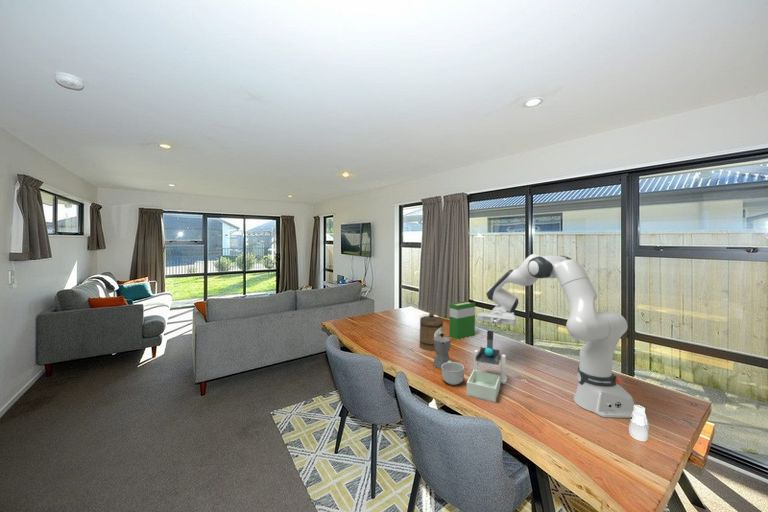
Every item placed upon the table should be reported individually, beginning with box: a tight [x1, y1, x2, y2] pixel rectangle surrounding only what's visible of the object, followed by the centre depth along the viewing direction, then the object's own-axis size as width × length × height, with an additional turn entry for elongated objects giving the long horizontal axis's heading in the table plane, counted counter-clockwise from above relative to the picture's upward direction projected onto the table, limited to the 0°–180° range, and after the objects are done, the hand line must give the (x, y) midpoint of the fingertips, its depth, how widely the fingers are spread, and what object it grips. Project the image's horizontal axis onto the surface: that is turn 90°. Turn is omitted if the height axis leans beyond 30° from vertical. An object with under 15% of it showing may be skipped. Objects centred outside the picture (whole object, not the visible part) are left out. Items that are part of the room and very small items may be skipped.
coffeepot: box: [433, 333, 452, 370], centre depth 162 cm, size 15×9×18 cm, turn 175°
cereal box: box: [449, 300, 476, 340], centre depth 209 cm, size 18×7×24 cm, turn 122°
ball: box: [485, 347, 493, 356], centre depth 144 cm, size 4×4×4 cm
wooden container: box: [419, 312, 444, 351], centre depth 190 cm, size 15×15×22 cm
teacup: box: [441, 360, 465, 386], centre depth 144 cm, size 14×11×8 cm
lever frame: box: [473, 349, 508, 385], centre depth 147 cm, size 16×6×13 cm, turn 61°
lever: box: [475, 330, 502, 366], centre depth 144 cm, size 10×18×16 cm, turn 151°
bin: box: [466, 369, 501, 403], centre depth 134 cm, size 12×14×6 cm
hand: (494, 322), depth 158 cm, fingers closed
